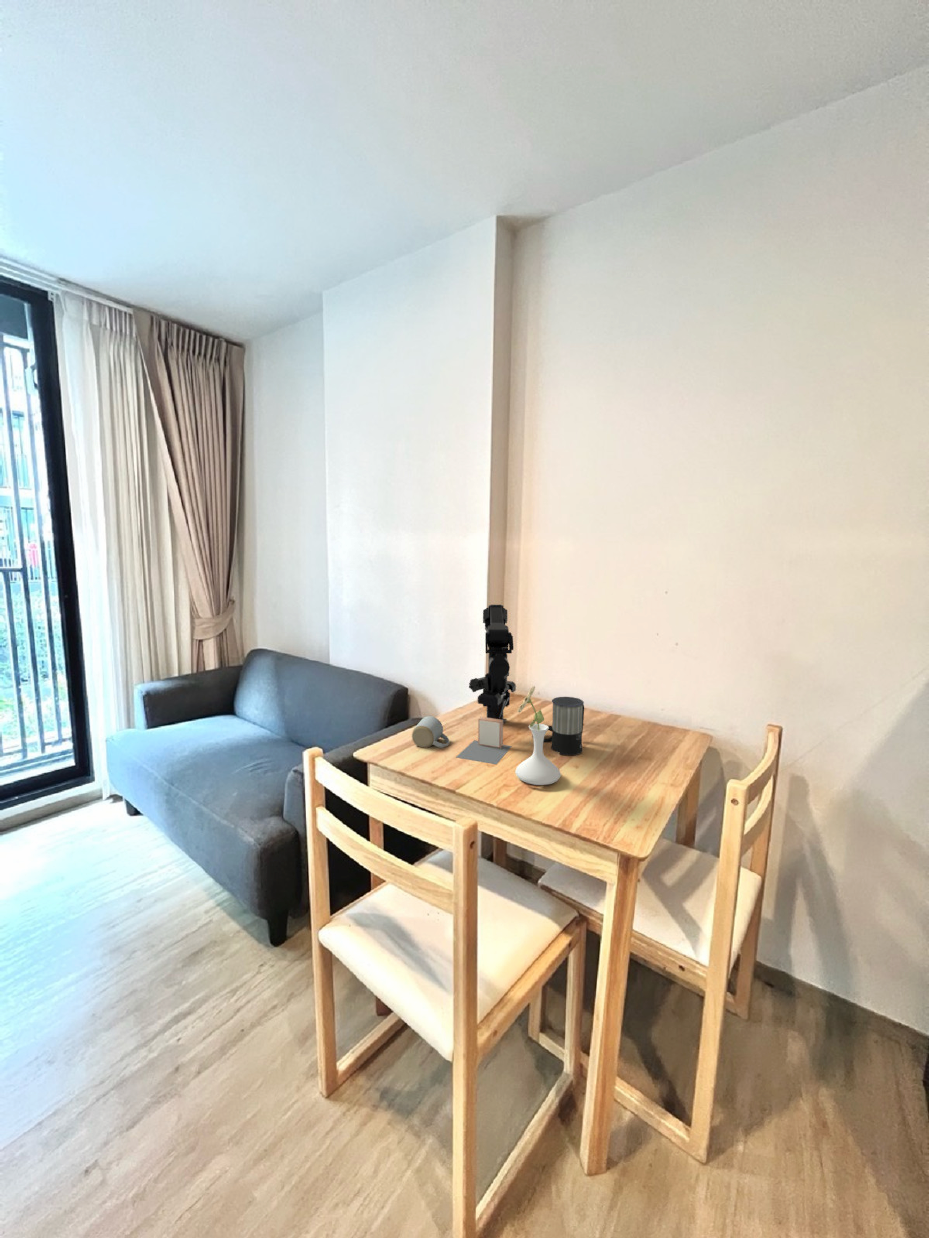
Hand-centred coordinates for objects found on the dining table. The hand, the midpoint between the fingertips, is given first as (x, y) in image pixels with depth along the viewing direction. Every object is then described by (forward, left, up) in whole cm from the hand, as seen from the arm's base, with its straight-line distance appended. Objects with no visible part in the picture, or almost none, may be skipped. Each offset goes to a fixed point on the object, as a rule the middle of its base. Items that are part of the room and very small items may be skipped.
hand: (497, 719), depth 150 cm
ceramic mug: (+11, -17, -7) cm, 21 cm away
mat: (+11, 0, -7) cm, 13 cm away
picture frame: (+6, 0, -6) cm, 8 cm away
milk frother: (-3, +18, -7) cm, 19 cm away
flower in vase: (+22, +18, -7) cm, 29 cm away
